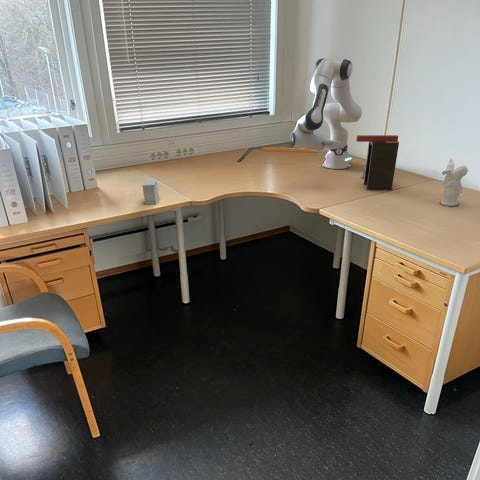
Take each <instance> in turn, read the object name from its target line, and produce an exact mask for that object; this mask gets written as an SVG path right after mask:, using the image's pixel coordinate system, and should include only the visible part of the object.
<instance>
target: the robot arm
mask: <svg viewBox="0 0 480 480" xmlns="http://www.w3.org/2000/svg"><path fill="white" fill-rule="evenodd" d="M352 72H353V63H352V62H351V60H350V59H346V58H344V59H343V58H338V57H334V58H333V57H332V58H324V57H322V58H319V59H317V60H316V61H315V63H314V66H313V76H312V78H311V81H310V85H309V91H310V93H311V94H312V95H313V96H314V99H313V103H312V106H311V108H310V109H309V110H308V111H307V112H306V113H305V114H304V115H303V116H300V117H299V119H298V120H297V122H296V123H295V124H296V125H295V128H294V129H293V131H292V132H291V133H290V137H289V141H290V145H291V146H292V147H294V148H297V149H301V150H308V151H310V152H311V151H312V152H316V153H320V152H322V151H324V150H328V151H327V153H326V154H324V161H323V163H322V165H321V167H322V168H327V169H331V170H343V169H347V168H351V167H352V164H350V160H352V157H350V153H349V152H348V147H349V146H348V145H349V144H348V139H349V132H348V130H347V129H346V128H345V127H343V125H342V123H347V124H348V123H349V124H350V123H351V124H352V123H358V122H359V121H360V120H361V117H362V115H363V110H362V109H363V108H362V107H361V105H359V103H357V102H356V101H355V100H354V99H353V97H352V96H353V95H352V94H351V88H350V87H351V86H350V78H351V76H352V74H353V73H352ZM329 91H330V95H331V98H332V100H334V101H335V102H327V100H328V95H329ZM326 102H327V103H326ZM324 121H325V122H326V124H327V125H328V128H329V132H330V133H329V135H330V139H326V138H325V137H324V135H323V134H317V133H314V131H316V130H319V129H320V128H321V127H322V125H323V123H324Z"/></svg>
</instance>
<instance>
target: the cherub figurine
mask: <svg viewBox="0 0 480 480" xmlns="http://www.w3.org/2000/svg"><path fill="white" fill-rule="evenodd" d="M455 166H456V165H455V162H454V160H453V159H452V158H450V159H449V161H448V164H447V166H446V167H445V169H444V170H442V171H441V174H442V175H443V176H444V179H443V181H442V185H441V186H442V188H444V189H443V193H442V196H443V197H442V199H441V201H440V204H441V205H442V206H445V207H446V206H447V207H456V206H458V205H459V202H458V200H459V199H458V198H459V197H460V194H462V193H463V192H464V191H463V185H462V181H461V180H462V179H463V177H466V175H467V174H468V172H469V169H468V167H467V166H466V165H465V164H463V165H459V166H457V167H456V168H455Z"/></svg>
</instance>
